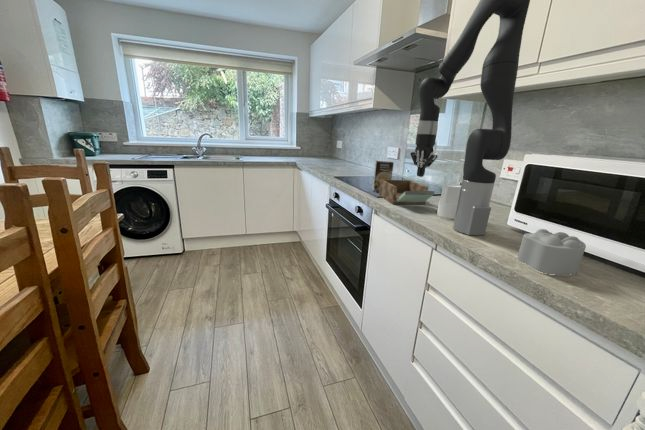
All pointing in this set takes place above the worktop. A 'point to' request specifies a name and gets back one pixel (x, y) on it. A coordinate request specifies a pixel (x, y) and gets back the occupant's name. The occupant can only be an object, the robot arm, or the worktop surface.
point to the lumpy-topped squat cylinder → (551, 252)
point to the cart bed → (399, 190)
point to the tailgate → (415, 196)
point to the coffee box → (382, 173)
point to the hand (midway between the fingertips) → (420, 176)
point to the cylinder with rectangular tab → (448, 202)
